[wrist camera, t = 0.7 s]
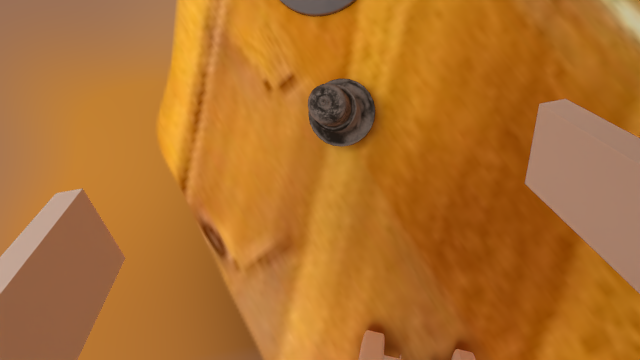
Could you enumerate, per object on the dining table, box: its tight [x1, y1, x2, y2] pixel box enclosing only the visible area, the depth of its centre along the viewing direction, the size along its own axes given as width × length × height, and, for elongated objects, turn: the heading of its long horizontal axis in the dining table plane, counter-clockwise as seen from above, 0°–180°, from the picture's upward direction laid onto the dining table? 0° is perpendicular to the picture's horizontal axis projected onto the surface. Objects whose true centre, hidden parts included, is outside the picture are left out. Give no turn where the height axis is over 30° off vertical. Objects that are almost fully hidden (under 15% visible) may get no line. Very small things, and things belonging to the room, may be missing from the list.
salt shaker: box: [308, 79, 375, 146], centre depth 30 cm, size 6×6×12 cm
